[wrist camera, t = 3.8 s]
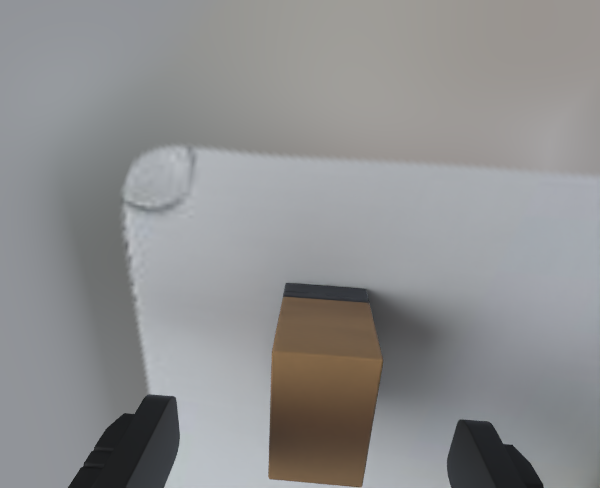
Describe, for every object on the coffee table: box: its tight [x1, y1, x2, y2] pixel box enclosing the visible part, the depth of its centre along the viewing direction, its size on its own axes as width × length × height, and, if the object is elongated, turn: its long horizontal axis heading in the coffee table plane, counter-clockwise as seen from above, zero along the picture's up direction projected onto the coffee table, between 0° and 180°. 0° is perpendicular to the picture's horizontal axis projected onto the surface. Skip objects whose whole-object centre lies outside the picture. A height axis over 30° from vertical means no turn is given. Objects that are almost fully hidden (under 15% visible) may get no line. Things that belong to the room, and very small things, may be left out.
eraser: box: [268, 283, 383, 487], centre depth 12 cm, size 5×3×4 cm, turn 177°
